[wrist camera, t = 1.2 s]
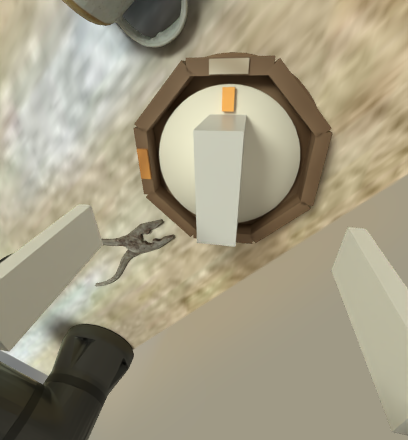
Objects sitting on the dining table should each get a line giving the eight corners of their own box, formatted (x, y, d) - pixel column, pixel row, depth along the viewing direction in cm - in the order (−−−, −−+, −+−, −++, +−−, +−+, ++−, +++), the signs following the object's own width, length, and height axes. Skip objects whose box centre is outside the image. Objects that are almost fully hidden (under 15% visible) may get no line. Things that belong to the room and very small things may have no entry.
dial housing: (224, 249, 32) (221, 269, 29) (117, 152, 27) (100, 162, 24) (357, 162, 23) (373, 175, 20) (235, -5, 18) (231, -21, 15)
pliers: (53, 255, 38) (121, 184, 29) (57, 252, 39) (124, 181, 29) (101, 291, 41) (177, 236, 31) (103, 287, 42) (178, 233, 32)
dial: (285, 223, 26) (296, 274, 20) (168, 213, 28) (142, 257, 22) (313, 83, 19) (346, 88, 12) (154, 84, 21) (109, 89, 15)
